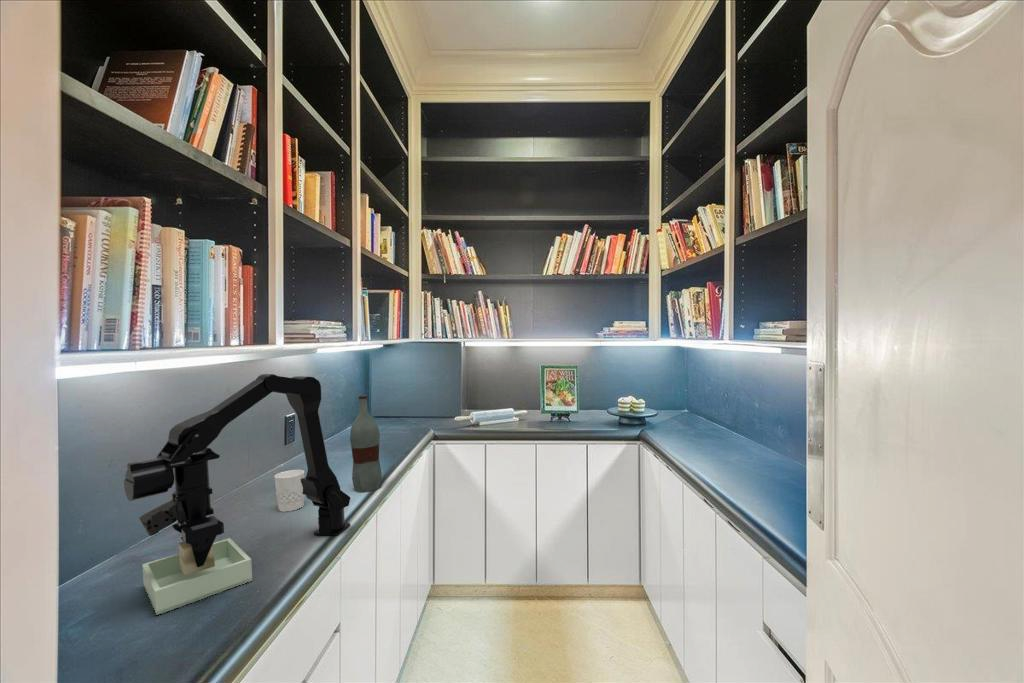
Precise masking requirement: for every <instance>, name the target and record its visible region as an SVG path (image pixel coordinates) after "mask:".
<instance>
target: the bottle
mask: <svg viewBox="0 0 1024 683" xmlns="http://www.w3.org/2000/svg"><path fill="white" fill-rule="evenodd" d="M358 410H359V411H358V414H357V416H356V418H355V419H354V421H353V423H352V425H351V428H350V434H349V443H350V446H351V455H352V473H351V474H352V475H351V481H352V486H353V489H354V491H355V492H357V493H368V492H367V491H369V492H374V491H376V490H378V489H380V488H381V485H382V475H383V473H382V468H381V463H380V441H381V440H380V439H381V438H380V430H379V426H378V423H377V422H376V420H375V419H374V418H373V417H372V415H371V414H370V413H369V409H368V395H367V394H359V395H358Z"/></svg>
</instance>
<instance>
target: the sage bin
mask: <svg viewBox="0 0 1024 683" xmlns="http://www.w3.org/2000/svg"><path fill="white" fill-rule="evenodd" d="M213 544H214V560H215V566H214V567H211V568H208V569H205V570H202V571H199V572H196V573H192V574H189V575H186V576H185V575H184V573H183V572H182V570H181V568H180V559H179V552H178V553H175V554H172V555H169V556H165V557H163V558H159V559H155V560H152V561H149V562H146V563H142V575H143V576H142V578H143V582H142V583H143V588H144V587H145V588H144V590H145V589H146V590H145V593H146V592H147V593H146V595H147V594H148V595H147V597H149V598H148V600H149V599H150V600H149V602H150V601H151V602H150V604H152V605H151V607H152V606H153V607H152V609H153V608H154V609H153V611H154V610H155V612H154V614H155V613H156V614H155V616H156V615H158V614H160V613H163V612H166V611H169V610H172V609H174V608H177V607H181V606H183V605H186V604H189V603H192V604H194V603H193V602H195V601H198V600H200V601H202V600H201V599H203V598H205V597H207V596H210V595H213V594H215V593H218V592H221V591H224V590H227V589H229V588H232V587H235V586H238V585H241V586H243V585H242V584H244V585H246V584H245V583H247V582H249V583H251V582H250V581H252V582H253V566H252V558H251V557H250V556H248V554H246V552H245V551H244V550H243V549H242V548H241V547H239V545H238V544H237V543H236V542H235V541H233V540H232V538H230V537H229V538H226V539H222V540H219V541H216V542H215V541H214V542H213ZM247 584H248V583H247ZM238 587H239V586H238ZM227 591H228V590H227ZM203 600H204V599H203ZM198 602H199V601H198ZM195 603H196V602H195ZM189 605H190V604H189ZM181 608H182V607H181Z"/></svg>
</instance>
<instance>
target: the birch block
mask: <svg viewBox="0 0 1024 683" xmlns="http://www.w3.org/2000/svg"><path fill="white" fill-rule="evenodd" d="M178 553H179V559H180V568H181V570H182V572H183V573H184V575H185V576H186V575H189V574H192V573H196V572H199V571H202V570H205V569H208V568H211V567H214V566H215V560H214V544H212V547H211V549H210V551H209V554H208V556H207V558H206V561H205V563H204V565H203V566H200V567H197V565H196V562H195V559H194V555H193V552H192V548H191V545H190V544H188V543H185V542H183V541H181V542H178Z"/></svg>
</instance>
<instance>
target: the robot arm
mask: <svg viewBox="0 0 1024 683" xmlns="http://www.w3.org/2000/svg"><path fill="white" fill-rule="evenodd" d="M271 393H277V394H278V393H279V394H285V395H286V399H287V401H288V403H289V405H290V407H291V408H292V409H293V411H294V412H295V413H296V416H297V421H298V426H299V430H300V435H301V441H302V446H303V451H304V456H305V460H306V466H307V472H306V475H305V476H304V478H301V484H302V486H303V493H302V494H304V496H305V498H306V499H308V500H309V501H311V503H312V506H314V507H318V511H317V514H318V516H317V518H318V520H317V522H318V529H317V530H315V531H314V532H313V535H314V536H315V535H320V536H339V534H341V533H343V531H344V530H346V529H347V528H349V527H350V526H351V523H350V522H345V520H346V519H345V508H347V507H349V506H350V502H351V496H350V495H348V494H346V493H345V492H344V491H342V490H341V485H340V484H339V480H338V478H337V476H336V474H335V473H334V472H333V470H332V469H331V467H330V466H329V462H328V456H327V455H328V454H327V450H326V444H325V440H324V434H323V430H322V425H321V420H320V414H319V408H320V406H321V401H322V385H321V382H320V381H319V379H317V378H315V377H313V376H301V375H300V376H292V377H288V376H281V375H276V374H274V373H262V374H260V375H258V376H257V377H256V379H255V380H253V381H251V382H250V383H248V384H246V385H245V386H244V387H243V388H241V389H239V390H238V391H236V392H235V393H234V394H232V395H231V396H229V397H228V398H226V399H224V401H222V402H220V403H219V404H217V405H215V406H214V407H213V408H211V409H209V410H207V411H206V412H203V413H200V414H197V415H195V416H192V417H190V418H188V419H185V420H183V421H181V422H179V423H177V424H175V425H174V426H173V427H172V428H171V429H170V431H169V433H168V439H167V441H166V443H165V444H164V446H163V447H162V448H161V450H160V451H159V453H158V454H156V458H154V459H149V460H143V461H134V462H129V463H127V465H126V472H125V476H124V479H123V488H124V492H125V496H126V498H127V500H128V501H129V502H132V501H136V500H140V499H144V498H148V497H151V496H155V495H160V494H164V493H167V492H168V491H169V489H172V488H173V485H174V487H175V488H174V491H172V492H173V493H171V500H169V501H167V502H165V503H163V504H160V505H159V506H157V507H155V508H153V509H152V510H149V511H148V512H145V513H144V514H142V515H141V516H140V517H139V518H138V519H139V521H140V522H141V524H142V526H143V527H144V529H145V531H146V533H147V534H148V535H149V537H150V536H151V537H152V536H155V535H156V534H158V533H159V532H160V531H162V530H164V529H165V528H167V527H169V526H170V525H171V527H172V528H173V529H174V531H175V532H179V533H180V534H181V536H180V539H181V541H182V542H185V543H188V544H190V545H191V548H192V552H193V555H194V559H195V562H196V565H197V567H200V566H203V565H204V563H205V561H206V558H207V556H208V554H209V551H210V549H211V547H212V544H213V543H215V539H216V538H217V536H220V535H223V534H224V533H225V528H224V527H225V526H224V522H223V521H222V520H221V519H220V518H218V517H217V516H215V515H214V514H215V512H214V508H213V507H212V504H211V495H213V488H212V487H211V486H210V485H211V484H210V471H209V461H212V460H213V461H214V460H216V459H219V458H220V457H221V456H220V454H218V453H217V452H215V451H213V450H212V449H211V448H210V447H209V445H211V444H212V443H213V442H214V441H215V440H216V439H217V438H218V437H219V435H220V434H221V432H222V431H223V430H224V428H225V427H226V426H227V425H228V424H229V423H231V422H232V421H234V420H235V419H237V418H238V417H240V416H241V415H242V414H244V413H245V412H246V411H248V410H249V409H250V408H252V407H254V406H255V405H256V404H258V403H259V402H260V401H262V400H263V399H265V398H266V397H267V396H269V395H270V394H271ZM175 522H176V523H175Z"/></svg>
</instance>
